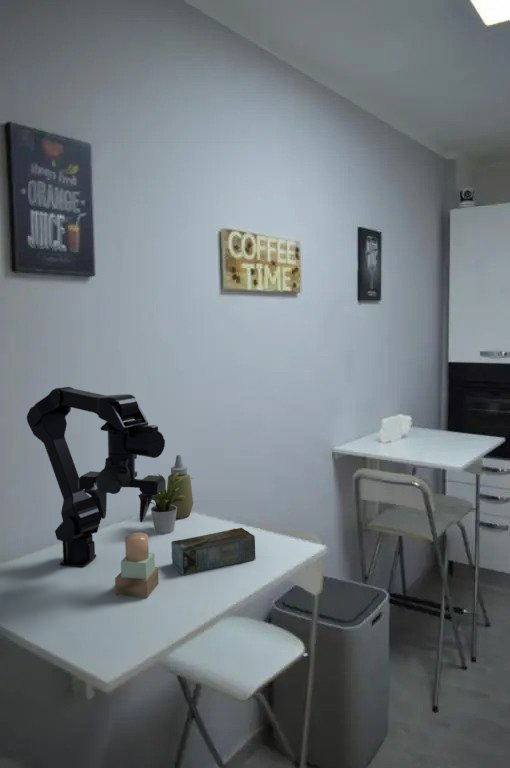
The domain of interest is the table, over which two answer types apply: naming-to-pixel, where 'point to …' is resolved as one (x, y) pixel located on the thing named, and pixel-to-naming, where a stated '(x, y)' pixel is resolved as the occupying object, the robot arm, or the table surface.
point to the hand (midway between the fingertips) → (122, 519)
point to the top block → (138, 568)
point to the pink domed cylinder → (136, 547)
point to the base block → (136, 585)
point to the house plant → (165, 507)
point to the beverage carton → (213, 550)
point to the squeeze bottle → (181, 489)
